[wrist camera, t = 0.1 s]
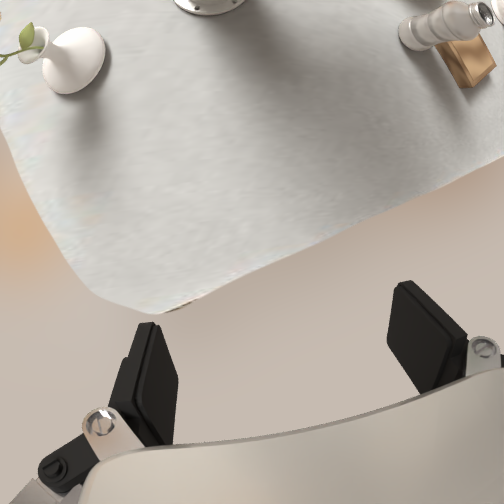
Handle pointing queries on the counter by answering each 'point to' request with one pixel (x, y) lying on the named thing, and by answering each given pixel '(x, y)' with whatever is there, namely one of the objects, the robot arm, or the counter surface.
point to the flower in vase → (63, 56)
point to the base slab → (467, 60)
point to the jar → (498, 9)
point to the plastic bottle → (445, 25)
